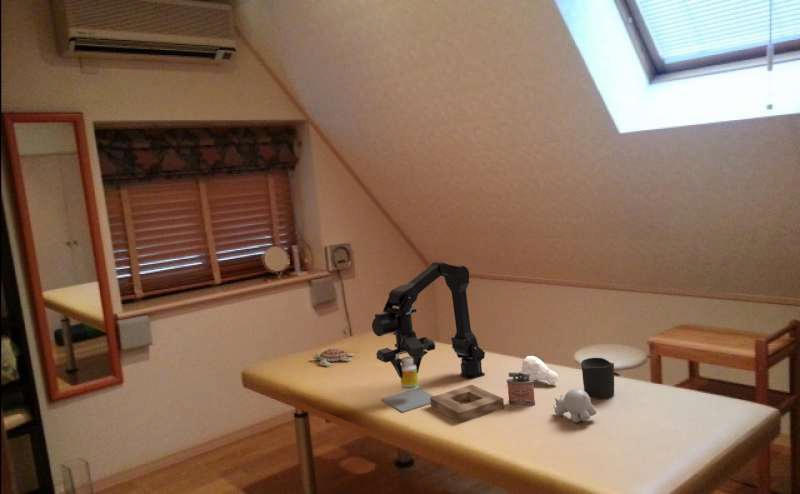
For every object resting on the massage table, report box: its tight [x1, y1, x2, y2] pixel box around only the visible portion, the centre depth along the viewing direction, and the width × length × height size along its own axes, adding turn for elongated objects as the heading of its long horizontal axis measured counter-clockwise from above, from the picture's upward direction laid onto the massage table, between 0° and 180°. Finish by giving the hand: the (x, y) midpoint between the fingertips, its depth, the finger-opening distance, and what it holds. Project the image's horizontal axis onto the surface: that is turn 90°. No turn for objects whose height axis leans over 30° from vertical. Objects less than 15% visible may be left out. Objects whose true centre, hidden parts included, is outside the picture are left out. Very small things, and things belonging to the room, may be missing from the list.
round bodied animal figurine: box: [552, 388, 597, 423], centre depth 168 cm, size 7×12×8 cm, turn 41°
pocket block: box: [430, 384, 505, 424], centre depth 182 cm, size 16×16×3 cm
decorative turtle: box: [312, 348, 355, 367], centre depth 244 cm, size 18×17×5 cm
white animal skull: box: [521, 355, 559, 386], centre depth 196 cm, size 6×8×12 cm
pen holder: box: [580, 357, 615, 400], centre depth 182 cm, size 9×9×10 cm
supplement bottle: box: [400, 356, 419, 391], centre depth 192 cm, size 5×5×10 cm
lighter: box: [506, 370, 536, 407], centre depth 181 cm, size 8×3×10 cm, turn 71°
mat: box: [381, 387, 434, 414], centre depth 193 cm, size 14×14×1 cm
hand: (408, 375), depth 192 cm, fingers closed on supplement bottle, 5 cm apart
